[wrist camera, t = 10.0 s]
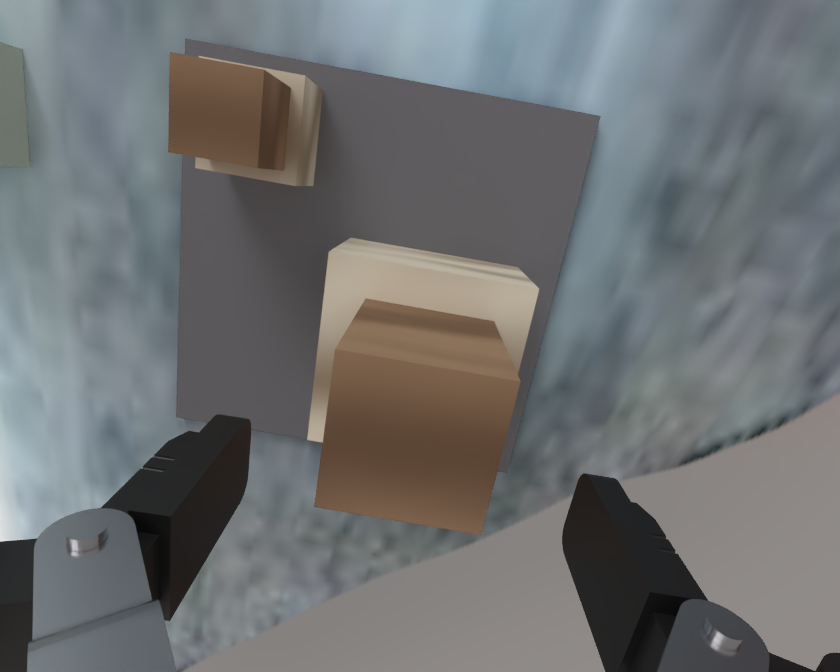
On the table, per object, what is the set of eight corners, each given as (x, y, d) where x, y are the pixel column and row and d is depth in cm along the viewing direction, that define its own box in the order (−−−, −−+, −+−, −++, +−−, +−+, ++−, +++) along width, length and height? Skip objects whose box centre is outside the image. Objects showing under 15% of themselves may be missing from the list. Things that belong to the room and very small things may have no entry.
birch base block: (350, 237, 23) (328, 251, 18) (517, 267, 23) (539, 288, 18) (331, 391, 25) (307, 440, 20) (482, 417, 25) (493, 471, 21)
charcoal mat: (192, 42, 21) (185, 38, 21) (596, 118, 22) (600, 116, 21) (181, 412, 26) (176, 417, 26) (505, 466, 27) (507, 472, 26)
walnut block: (365, 298, 19) (335, 348, 13) (494, 321, 19) (520, 381, 13) (348, 414, 20) (314, 506, 14) (467, 435, 20) (480, 534, 14)
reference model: (231, 73, 21) (154, 31, 15) (323, 90, 21) (281, 55, 15) (226, 170, 22) (153, 165, 16) (313, 186, 22) (271, 186, 16)
